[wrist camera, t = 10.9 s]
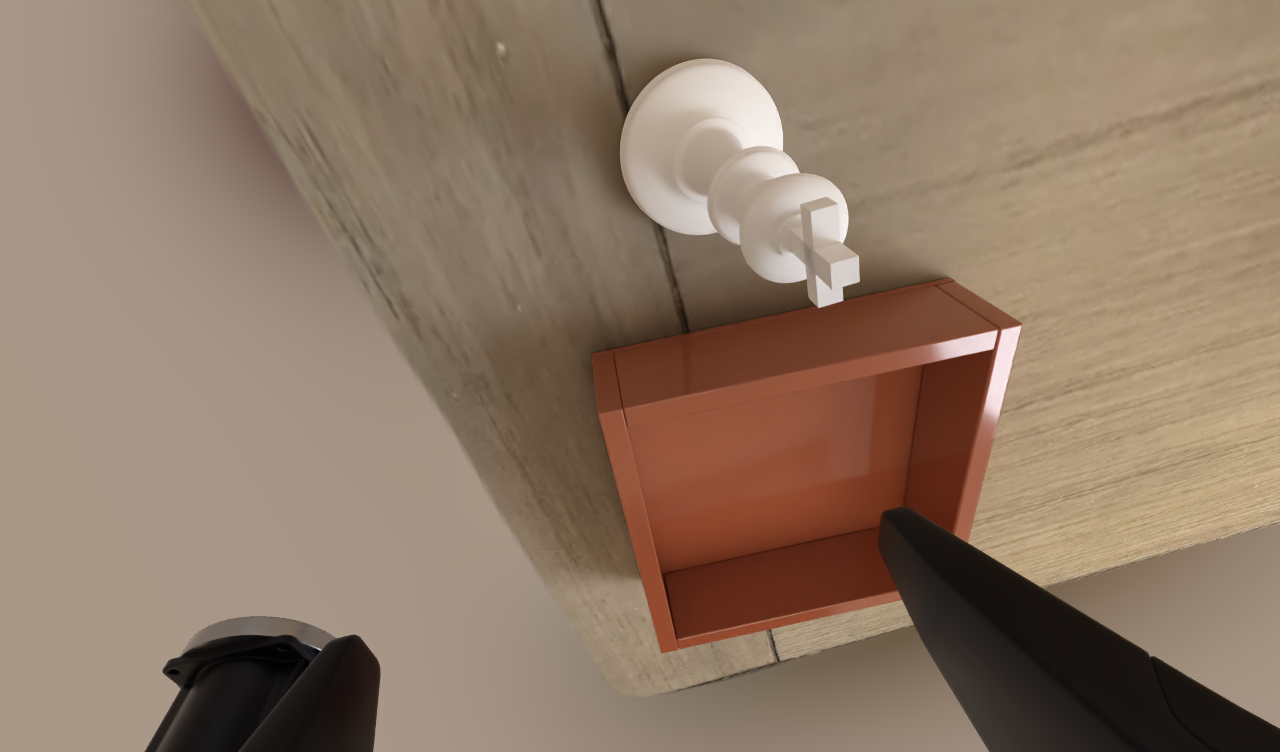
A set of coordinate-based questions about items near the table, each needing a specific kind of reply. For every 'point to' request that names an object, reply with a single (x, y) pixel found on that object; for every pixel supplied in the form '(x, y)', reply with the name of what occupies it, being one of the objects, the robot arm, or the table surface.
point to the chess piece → (734, 176)
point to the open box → (799, 451)
